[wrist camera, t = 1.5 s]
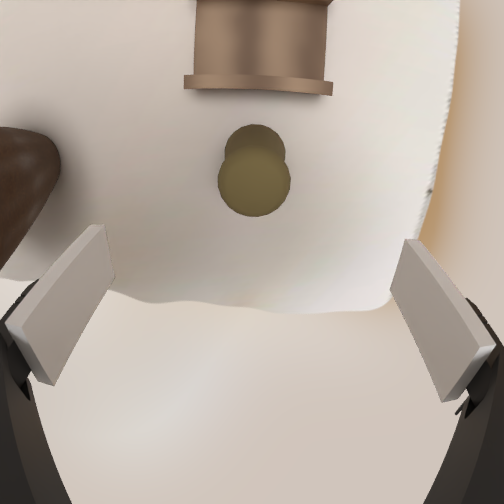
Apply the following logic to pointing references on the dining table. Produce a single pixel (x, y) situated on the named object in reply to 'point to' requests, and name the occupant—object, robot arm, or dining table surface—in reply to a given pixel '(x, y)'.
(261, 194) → the olive peg figure
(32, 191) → the plant pot
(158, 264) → the dining table surface
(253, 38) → the spice rack
